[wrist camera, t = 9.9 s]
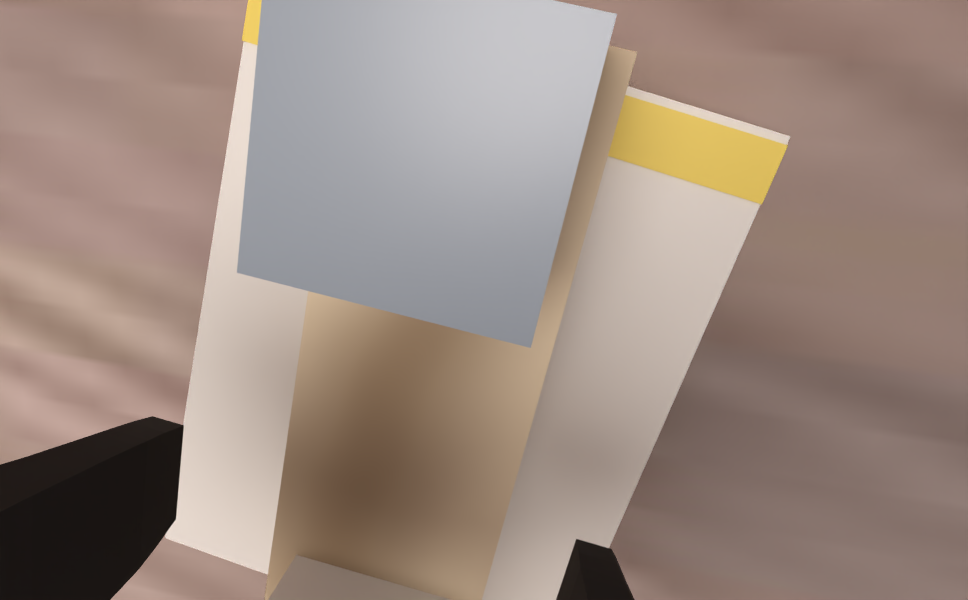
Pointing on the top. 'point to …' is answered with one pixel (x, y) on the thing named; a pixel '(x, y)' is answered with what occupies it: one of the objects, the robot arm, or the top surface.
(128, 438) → the robot arm
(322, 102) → the pale grey square box
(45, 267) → the top surface
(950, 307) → the top surface
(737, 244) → the dock
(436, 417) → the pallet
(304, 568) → the greyish beige cube
